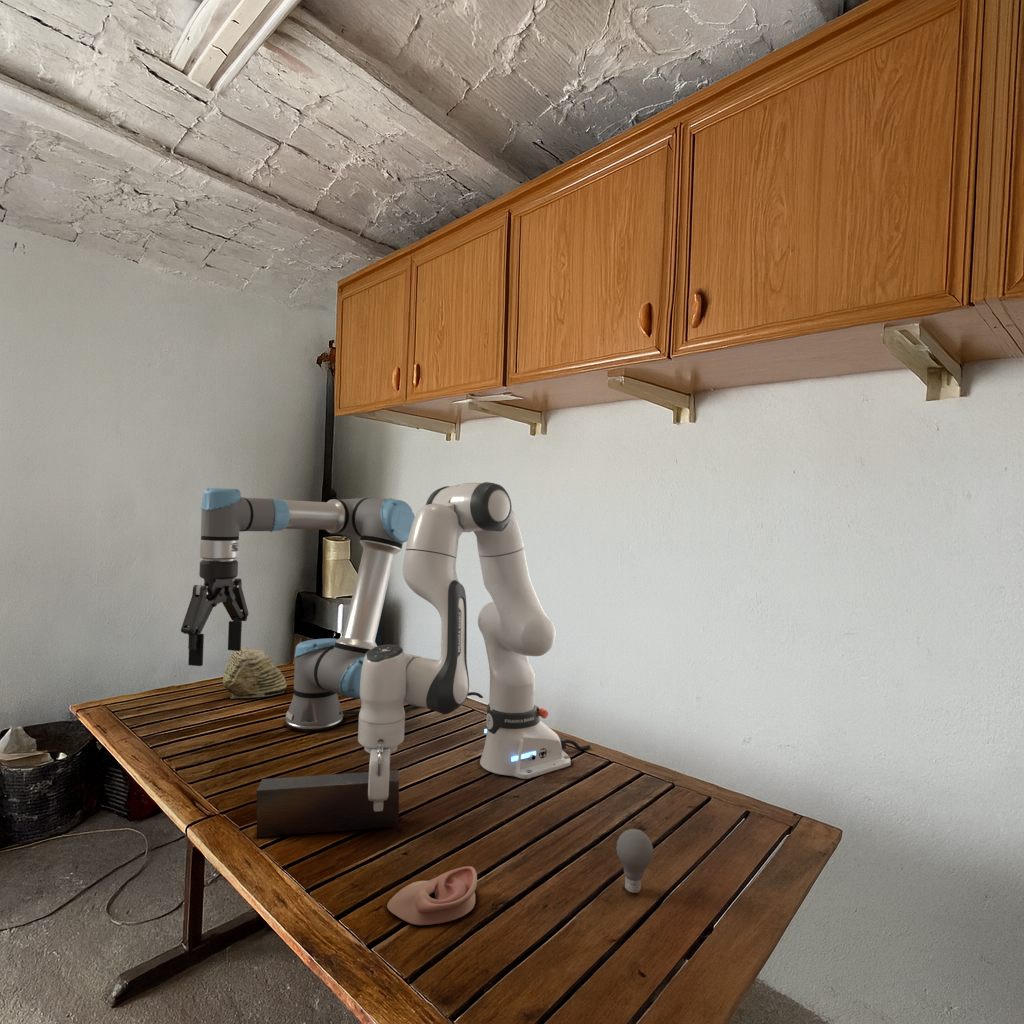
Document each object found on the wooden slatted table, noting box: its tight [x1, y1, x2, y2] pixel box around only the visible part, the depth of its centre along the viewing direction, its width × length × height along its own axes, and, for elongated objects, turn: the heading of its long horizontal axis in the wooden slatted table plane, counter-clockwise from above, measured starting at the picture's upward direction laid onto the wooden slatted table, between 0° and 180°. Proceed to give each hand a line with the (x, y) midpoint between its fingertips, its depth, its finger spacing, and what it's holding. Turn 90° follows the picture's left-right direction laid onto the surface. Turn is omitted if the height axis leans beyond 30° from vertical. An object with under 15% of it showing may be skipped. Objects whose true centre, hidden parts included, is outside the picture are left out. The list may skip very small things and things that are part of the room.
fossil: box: [222, 646, 288, 699], centre depth 198 cm, size 9×18×15 cm, turn 132°
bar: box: [256, 769, 400, 839], centre depth 121 cm, size 26×5×9 cm, turn 100°
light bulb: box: [615, 828, 654, 894], centre depth 106 cm, size 6×6×10 cm
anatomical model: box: [386, 865, 478, 926], centre depth 100 cm, size 13×4×12 cm
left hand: (215, 657), depth 137 cm, fingers open, 13 cm apart
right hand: (378, 801), depth 123 cm, fingers closed on bar, 5 cm apart
